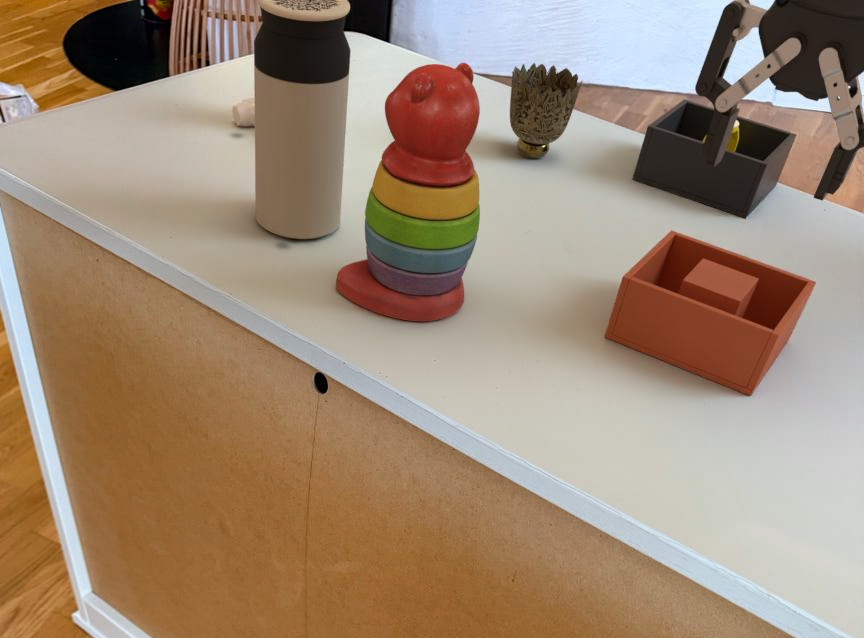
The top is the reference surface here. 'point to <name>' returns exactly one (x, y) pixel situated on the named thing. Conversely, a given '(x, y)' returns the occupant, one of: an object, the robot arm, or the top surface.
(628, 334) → the terracotta bin
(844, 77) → the robot arm
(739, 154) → the charcoal bin
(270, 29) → the travel mug
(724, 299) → the terracotta block
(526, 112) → the cup
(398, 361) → the top surface
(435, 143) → the stacking bear
